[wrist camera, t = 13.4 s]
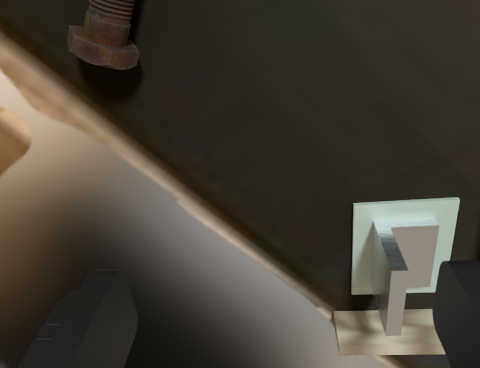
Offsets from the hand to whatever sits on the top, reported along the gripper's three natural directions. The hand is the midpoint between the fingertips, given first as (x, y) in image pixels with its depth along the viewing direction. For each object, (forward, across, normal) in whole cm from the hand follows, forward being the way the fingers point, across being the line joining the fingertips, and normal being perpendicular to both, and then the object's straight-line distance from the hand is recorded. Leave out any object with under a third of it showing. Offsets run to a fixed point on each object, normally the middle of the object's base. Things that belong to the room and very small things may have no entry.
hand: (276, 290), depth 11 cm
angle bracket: (+27, -12, +21) cm, 36 cm away
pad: (+28, -12, +21) cm, 37 cm away
